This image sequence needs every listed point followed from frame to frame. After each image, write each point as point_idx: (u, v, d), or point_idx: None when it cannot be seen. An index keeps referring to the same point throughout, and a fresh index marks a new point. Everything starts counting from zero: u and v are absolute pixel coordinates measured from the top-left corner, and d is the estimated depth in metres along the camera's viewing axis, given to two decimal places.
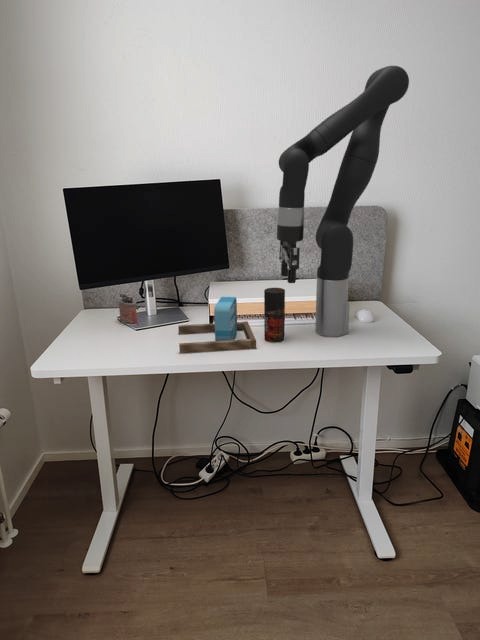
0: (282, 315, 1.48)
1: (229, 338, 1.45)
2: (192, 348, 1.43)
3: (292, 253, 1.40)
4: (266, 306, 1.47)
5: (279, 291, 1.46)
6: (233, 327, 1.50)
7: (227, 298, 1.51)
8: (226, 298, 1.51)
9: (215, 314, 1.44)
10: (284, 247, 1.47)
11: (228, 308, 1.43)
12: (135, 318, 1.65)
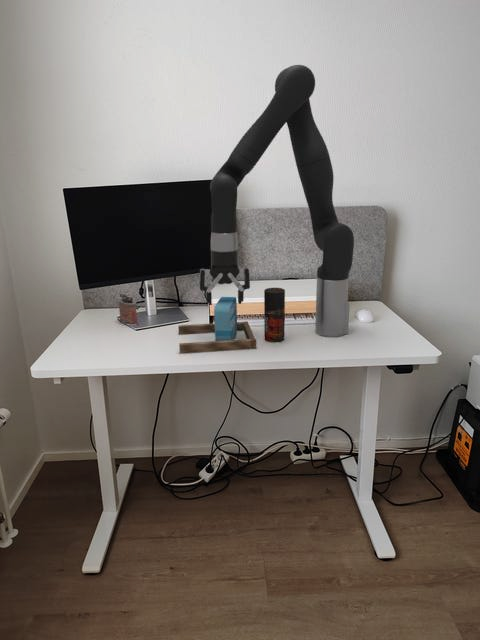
0: (282, 315, 1.48)
1: (229, 338, 1.45)
2: (192, 348, 1.43)
3: None
4: (266, 306, 1.47)
5: (279, 291, 1.46)
6: (233, 327, 1.50)
7: (227, 298, 1.51)
8: (226, 298, 1.51)
9: (215, 314, 1.44)
10: (222, 273, 1.44)
11: (228, 308, 1.43)
12: (135, 318, 1.65)
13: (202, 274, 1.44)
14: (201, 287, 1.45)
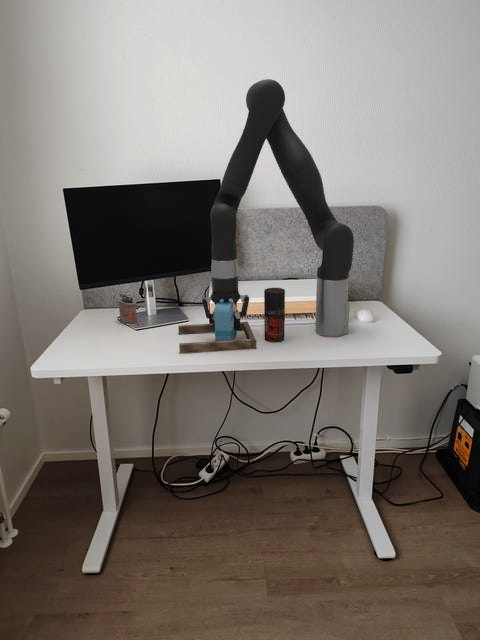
0: (282, 315, 1.48)
1: (229, 338, 1.45)
2: (192, 348, 1.43)
3: None
4: (266, 306, 1.47)
5: (279, 291, 1.46)
6: (233, 327, 1.50)
7: None
8: None
9: (215, 314, 1.44)
10: (223, 298, 1.47)
11: (228, 308, 1.43)
12: (135, 318, 1.65)
13: (204, 303, 1.47)
14: (207, 315, 1.48)
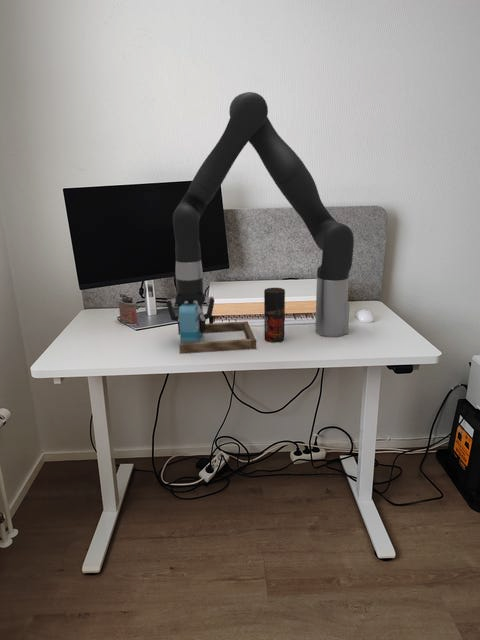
0: (282, 315, 1.48)
1: (194, 339, 1.44)
2: (192, 348, 1.43)
3: None
4: (266, 306, 1.47)
5: (279, 291, 1.46)
6: (199, 328, 1.49)
7: None
8: None
9: (180, 315, 1.42)
10: (187, 300, 1.46)
11: (193, 309, 1.42)
12: (135, 318, 1.65)
13: (169, 305, 1.45)
14: (172, 317, 1.47)
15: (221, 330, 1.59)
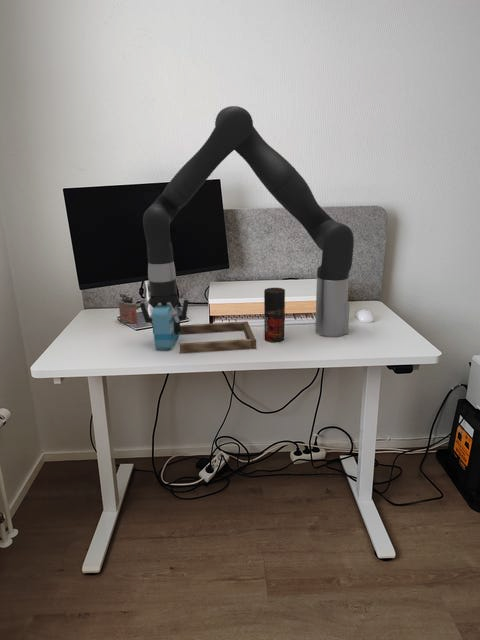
0: (282, 315, 1.48)
1: (169, 341, 1.43)
2: (192, 348, 1.43)
3: None
4: (266, 306, 1.47)
5: (279, 291, 1.46)
6: (173, 330, 1.48)
7: None
8: None
9: (153, 318, 1.42)
10: (161, 302, 1.45)
11: (166, 311, 1.41)
12: (135, 318, 1.65)
13: (142, 307, 1.45)
14: (146, 319, 1.46)
15: (221, 330, 1.59)
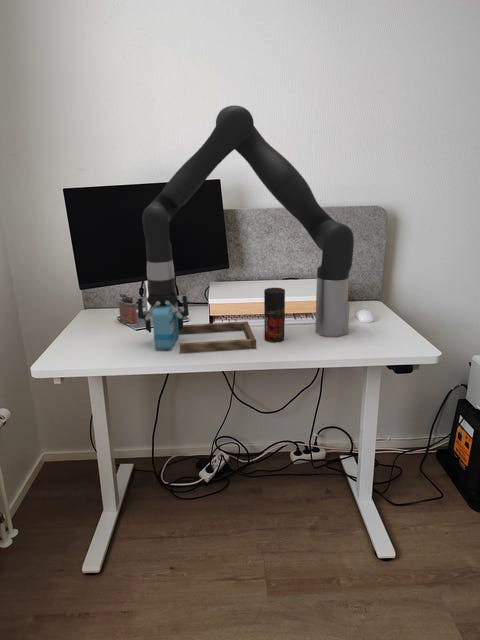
0: (282, 315, 1.48)
1: (169, 342, 1.43)
2: (192, 348, 1.43)
3: None
4: (266, 306, 1.47)
5: (279, 291, 1.46)
6: (173, 331, 1.48)
7: None
8: None
9: (153, 318, 1.42)
10: (160, 301, 1.45)
11: (166, 311, 1.41)
12: (135, 318, 1.65)
13: (139, 302, 1.44)
14: (139, 315, 1.45)
15: (221, 330, 1.59)
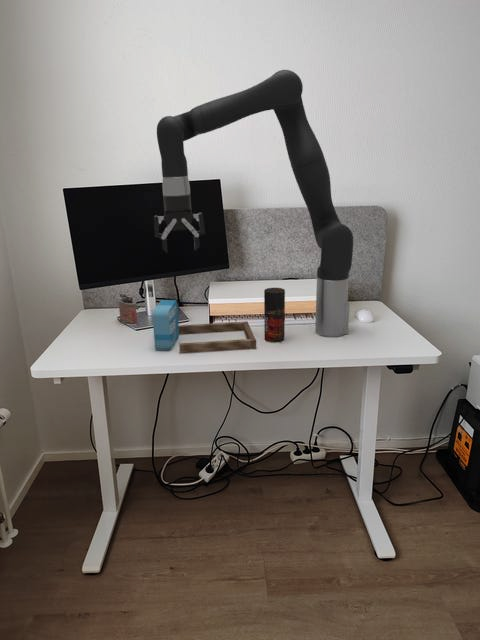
0: (282, 315, 1.48)
1: (169, 342, 1.43)
2: (192, 348, 1.43)
3: None
4: (266, 306, 1.47)
5: (279, 291, 1.46)
6: (173, 331, 1.48)
7: (166, 302, 1.49)
8: (166, 301, 1.49)
9: (153, 318, 1.42)
10: (176, 219, 1.44)
11: (166, 311, 1.41)
12: (135, 318, 1.65)
13: (156, 220, 1.43)
14: (156, 234, 1.44)
15: (221, 330, 1.59)
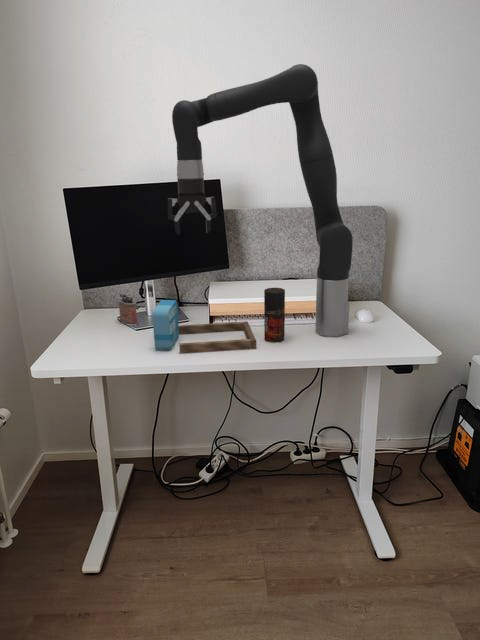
0: (282, 315, 1.48)
1: (169, 342, 1.43)
2: (192, 348, 1.43)
3: None
4: (266, 306, 1.47)
5: (279, 291, 1.46)
6: (173, 331, 1.48)
7: (166, 302, 1.49)
8: (166, 301, 1.49)
9: (153, 318, 1.42)
10: (189, 202, 1.48)
11: (166, 311, 1.41)
12: (135, 318, 1.65)
13: (169, 202, 1.47)
14: (169, 216, 1.48)
15: (221, 330, 1.59)
